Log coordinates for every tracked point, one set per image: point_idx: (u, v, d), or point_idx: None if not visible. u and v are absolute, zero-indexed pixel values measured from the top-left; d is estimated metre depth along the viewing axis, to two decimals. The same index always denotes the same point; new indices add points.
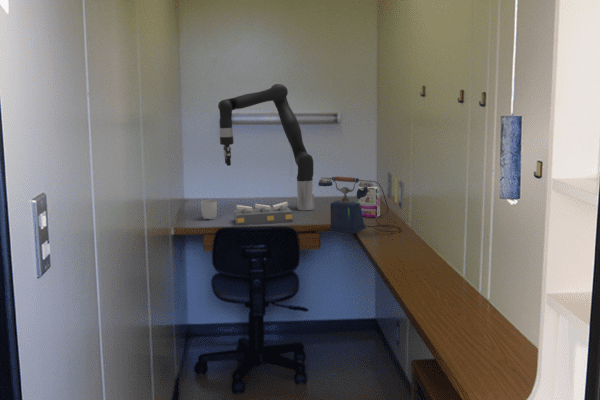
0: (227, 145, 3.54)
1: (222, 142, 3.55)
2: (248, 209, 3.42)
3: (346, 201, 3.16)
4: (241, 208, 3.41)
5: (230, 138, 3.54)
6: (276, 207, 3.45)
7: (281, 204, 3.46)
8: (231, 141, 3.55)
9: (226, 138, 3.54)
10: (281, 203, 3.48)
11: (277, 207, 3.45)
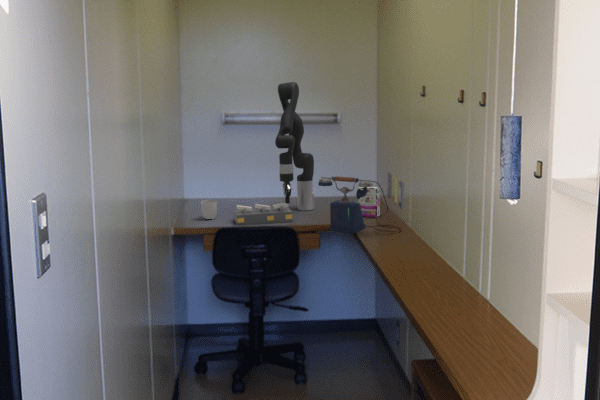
0: (287, 182, 3.42)
1: (282, 179, 3.43)
2: (248, 209, 3.42)
3: (346, 201, 3.16)
4: (241, 208, 3.41)
5: (290, 175, 3.42)
6: (276, 207, 3.45)
7: (281, 204, 3.46)
8: (291, 178, 3.43)
9: (287, 175, 3.41)
10: (281, 203, 3.48)
11: (277, 207, 3.45)
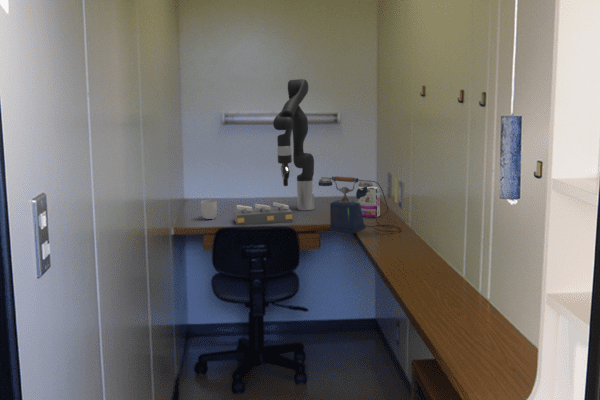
0: (286, 164, 3.40)
1: (280, 161, 3.40)
2: (248, 209, 3.42)
3: (346, 201, 3.16)
4: (241, 208, 3.41)
5: (289, 156, 3.40)
6: (277, 205, 3.45)
7: (282, 204, 3.46)
8: (290, 160, 3.41)
9: (285, 157, 3.39)
10: (282, 204, 3.49)
11: (277, 205, 3.45)
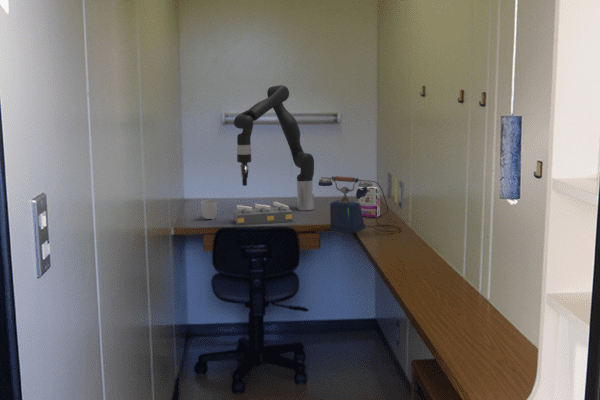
0: (245, 163, 3.35)
1: (239, 160, 3.35)
2: (248, 209, 3.42)
3: (346, 201, 3.16)
4: (241, 208, 3.41)
5: (248, 156, 3.35)
6: (277, 204, 3.45)
7: (282, 205, 3.46)
8: (249, 159, 3.36)
9: (244, 156, 3.34)
10: (282, 204, 3.49)
11: (278, 205, 3.45)
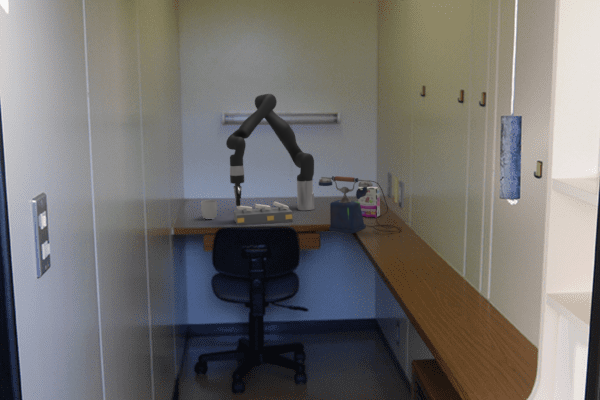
0: (238, 184, 3.37)
1: (232, 181, 3.37)
2: (248, 209, 3.42)
3: (346, 201, 3.17)
4: (241, 208, 3.41)
5: (241, 177, 3.37)
6: (277, 204, 3.45)
7: (282, 205, 3.46)
8: (242, 180, 3.38)
9: (237, 177, 3.36)
10: (282, 204, 3.49)
11: (278, 205, 3.45)
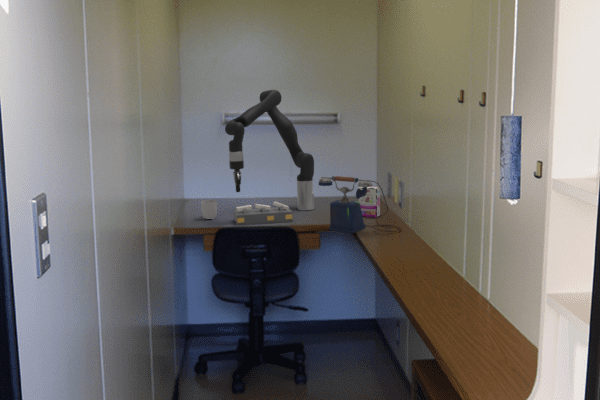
0: (237, 170, 3.35)
1: (232, 166, 3.35)
2: (248, 208, 3.42)
3: (346, 201, 3.17)
4: (241, 209, 3.41)
5: (240, 162, 3.35)
6: (277, 204, 3.45)
7: (282, 205, 3.46)
8: (241, 165, 3.36)
9: (236, 162, 3.34)
10: (282, 204, 3.49)
11: (278, 205, 3.45)
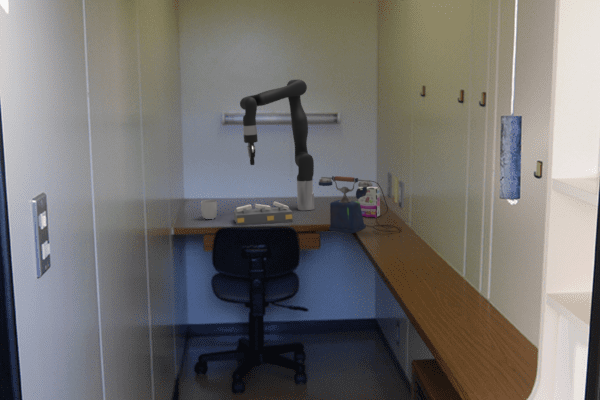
0: (251, 143, 3.48)
1: (246, 140, 3.49)
2: (248, 208, 3.42)
3: (346, 201, 3.17)
4: (241, 209, 3.41)
5: (254, 136, 3.49)
6: (277, 204, 3.45)
7: (282, 205, 3.46)
8: (255, 139, 3.49)
9: (250, 136, 3.48)
10: (282, 204, 3.49)
11: (278, 205, 3.45)
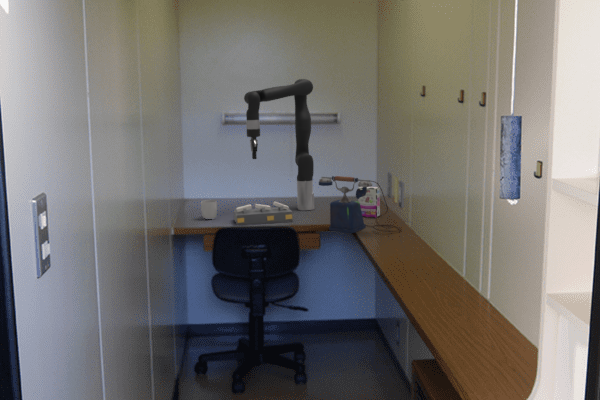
0: (254, 137, 3.51)
1: (249, 134, 3.51)
2: (248, 208, 3.42)
3: (345, 201, 3.17)
4: (241, 209, 3.41)
5: (257, 130, 3.51)
6: (277, 204, 3.45)
7: (282, 205, 3.46)
8: (258, 133, 3.52)
9: (253, 130, 3.50)
10: (282, 204, 3.49)
11: (278, 205, 3.45)
